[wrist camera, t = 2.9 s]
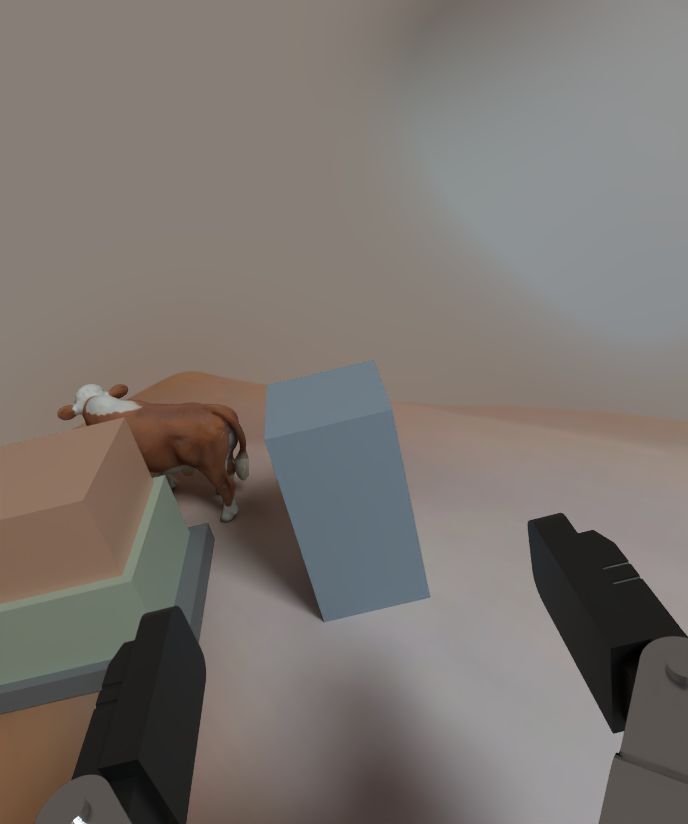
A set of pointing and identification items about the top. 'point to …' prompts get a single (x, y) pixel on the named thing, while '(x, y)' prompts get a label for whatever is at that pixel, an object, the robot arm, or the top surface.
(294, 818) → the top surface
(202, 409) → the bull figurine
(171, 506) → the brick tower
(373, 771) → the top surface
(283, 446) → the column brick
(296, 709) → the top surface
